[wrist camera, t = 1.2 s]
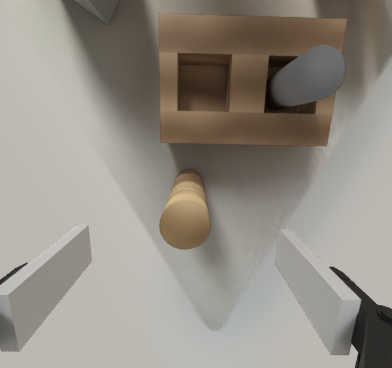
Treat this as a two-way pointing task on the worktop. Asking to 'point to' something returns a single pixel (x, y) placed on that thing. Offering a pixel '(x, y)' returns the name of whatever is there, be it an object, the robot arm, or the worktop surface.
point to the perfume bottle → (100, 8)
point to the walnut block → (238, 78)
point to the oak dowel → (186, 213)
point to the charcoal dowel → (306, 78)
